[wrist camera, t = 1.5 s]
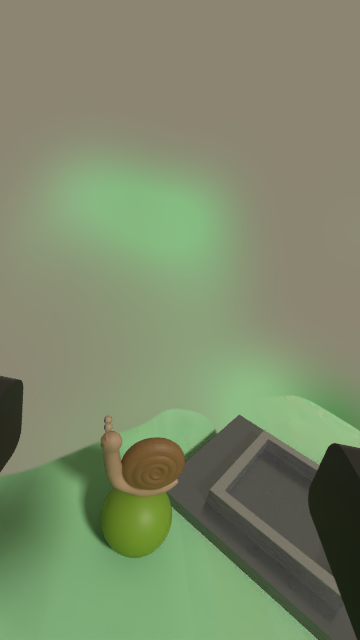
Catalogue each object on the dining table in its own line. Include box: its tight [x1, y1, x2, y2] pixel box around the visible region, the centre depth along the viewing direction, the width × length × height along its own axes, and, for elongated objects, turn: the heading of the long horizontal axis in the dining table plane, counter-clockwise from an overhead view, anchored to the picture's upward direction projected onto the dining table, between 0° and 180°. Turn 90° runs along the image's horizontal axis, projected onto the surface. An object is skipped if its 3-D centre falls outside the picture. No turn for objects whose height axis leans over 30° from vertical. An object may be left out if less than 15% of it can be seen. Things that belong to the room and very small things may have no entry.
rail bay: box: [166, 415, 357, 640], centre depth 32 cm, size 20×16×2 cm
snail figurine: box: [101, 416, 185, 558], centre depth 24 cm, size 5×6×12 cm
